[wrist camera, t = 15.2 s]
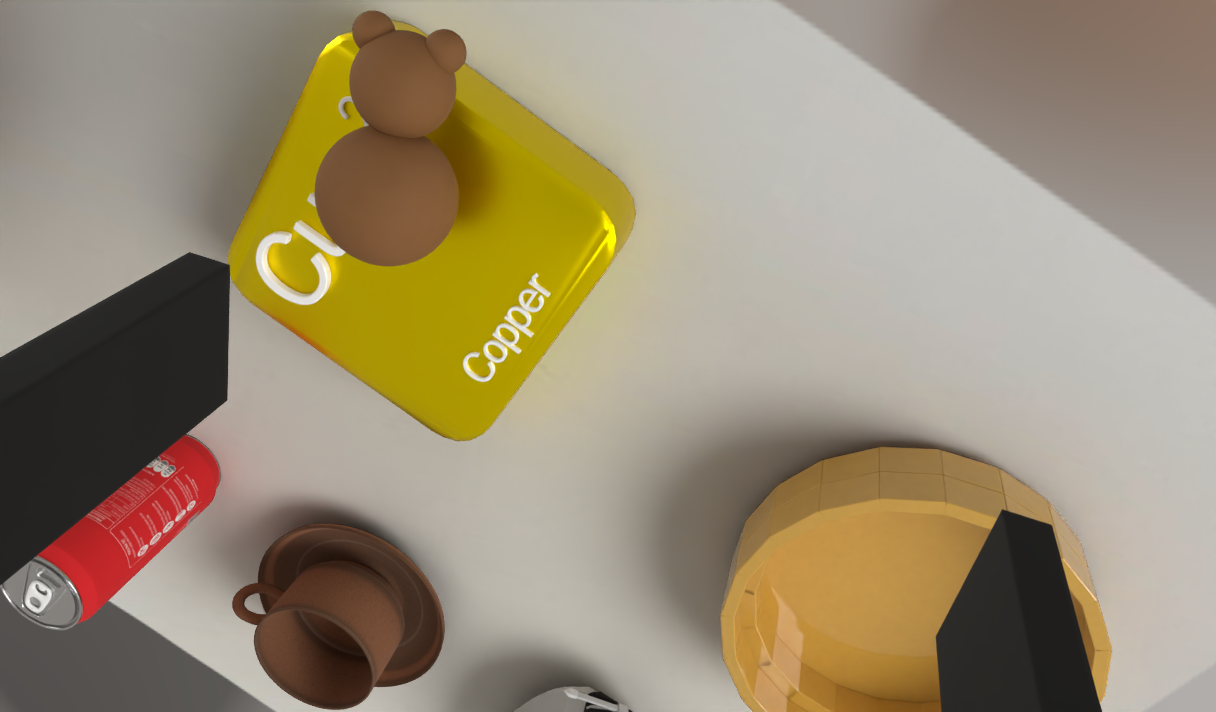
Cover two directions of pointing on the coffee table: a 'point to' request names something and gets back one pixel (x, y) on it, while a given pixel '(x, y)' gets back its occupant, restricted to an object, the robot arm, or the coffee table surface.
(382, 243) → the plush bear
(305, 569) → the cup and saucer
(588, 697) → the robot toy
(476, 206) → the element tile
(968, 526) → the ochre bowl
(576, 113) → the coffee table surface
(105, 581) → the beverage can
